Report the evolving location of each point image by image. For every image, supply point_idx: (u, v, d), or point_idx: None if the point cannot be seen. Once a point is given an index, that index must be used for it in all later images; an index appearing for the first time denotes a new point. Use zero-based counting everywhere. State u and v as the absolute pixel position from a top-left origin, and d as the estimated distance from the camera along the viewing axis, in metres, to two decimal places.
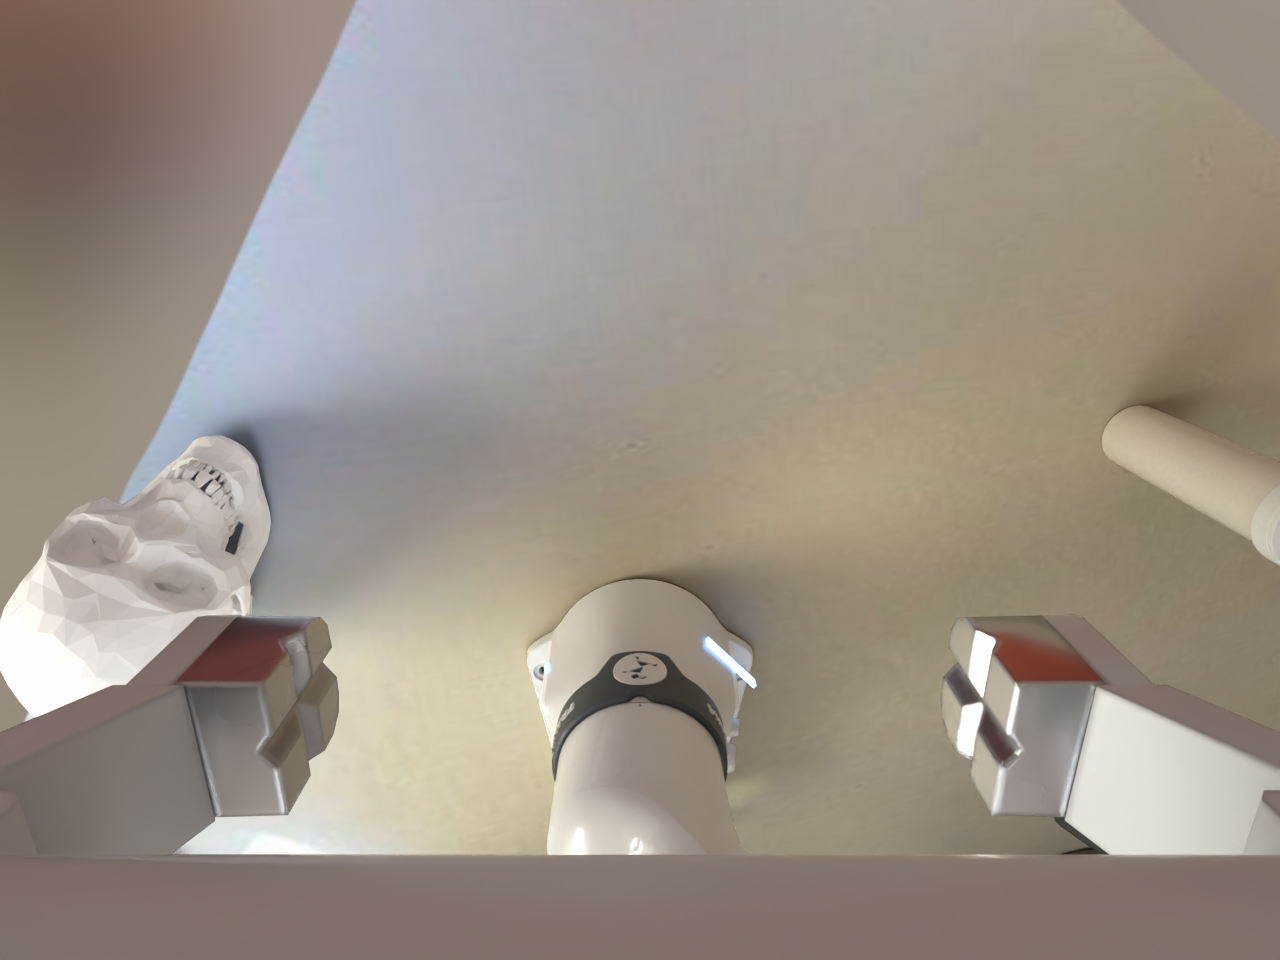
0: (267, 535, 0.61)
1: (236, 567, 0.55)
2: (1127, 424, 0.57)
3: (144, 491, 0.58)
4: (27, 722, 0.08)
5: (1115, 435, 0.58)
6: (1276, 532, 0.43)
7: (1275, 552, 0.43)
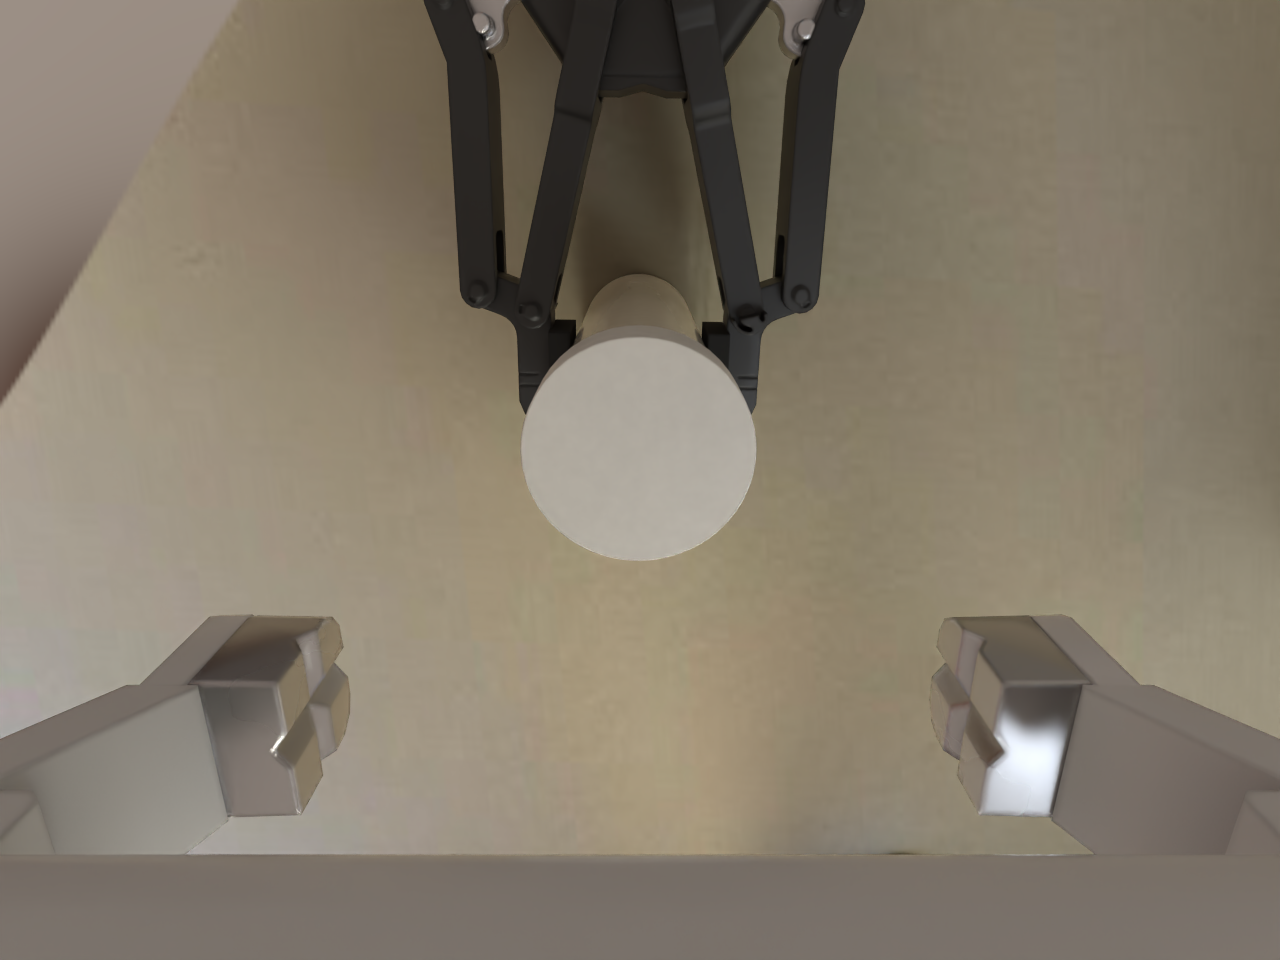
0: None
1: None
2: None
3: None
4: (42, 722, 0.08)
5: None
6: (630, 553, 0.19)
7: (681, 548, 0.19)
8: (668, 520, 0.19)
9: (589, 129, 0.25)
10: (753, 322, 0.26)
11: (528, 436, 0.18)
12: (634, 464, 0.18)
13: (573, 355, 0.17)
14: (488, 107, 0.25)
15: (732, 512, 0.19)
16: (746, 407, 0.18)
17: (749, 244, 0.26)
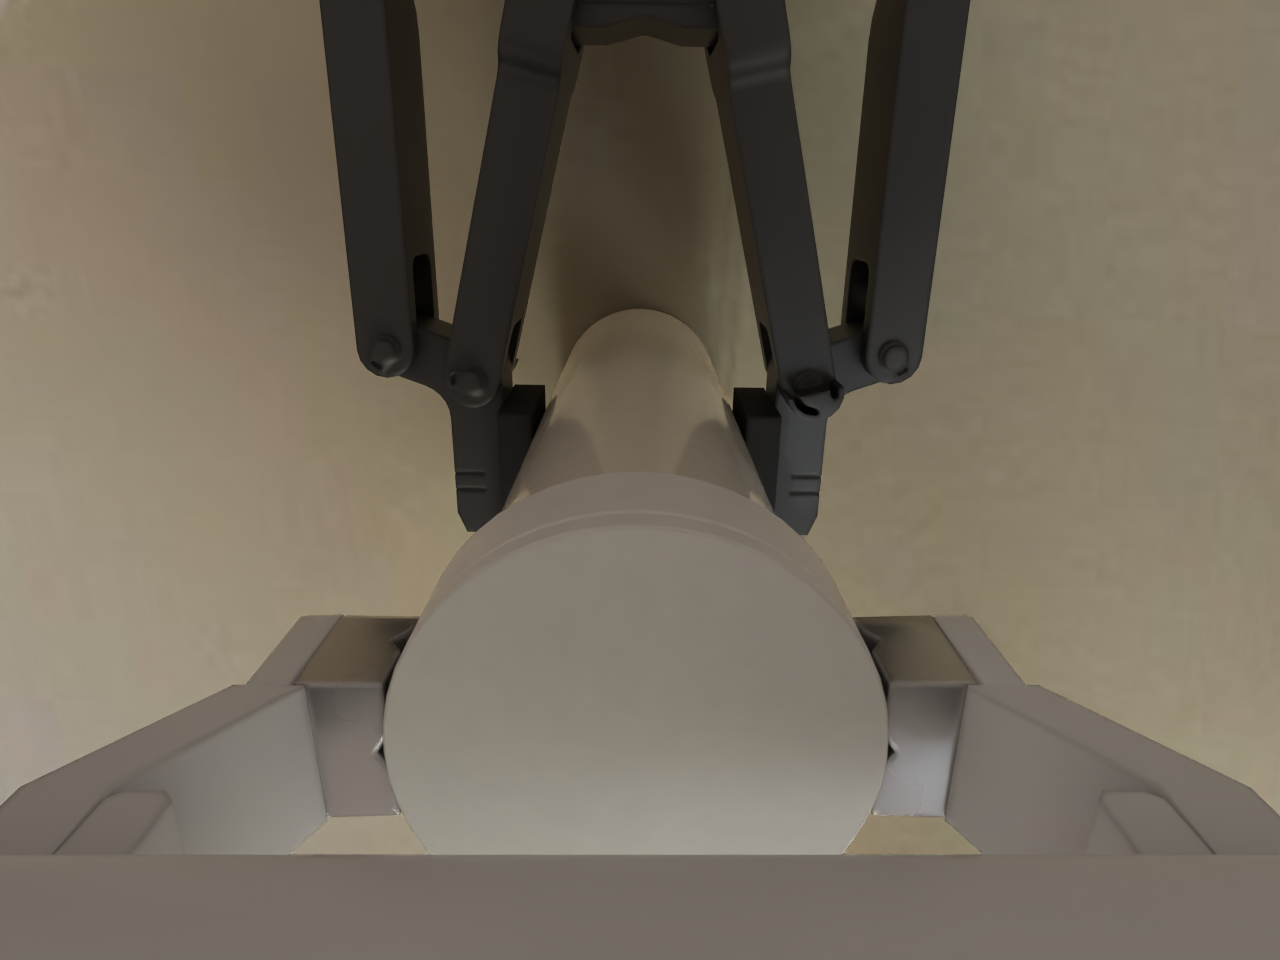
0: None
1: None
2: None
3: None
4: (158, 722, 0.08)
5: None
6: None
7: None
8: None
9: (556, 91, 0.15)
10: (820, 401, 0.17)
11: (398, 723, 0.08)
12: (627, 775, 0.09)
13: (488, 563, 0.08)
14: (392, 57, 0.15)
15: None
16: (872, 668, 0.08)
17: (815, 277, 0.16)
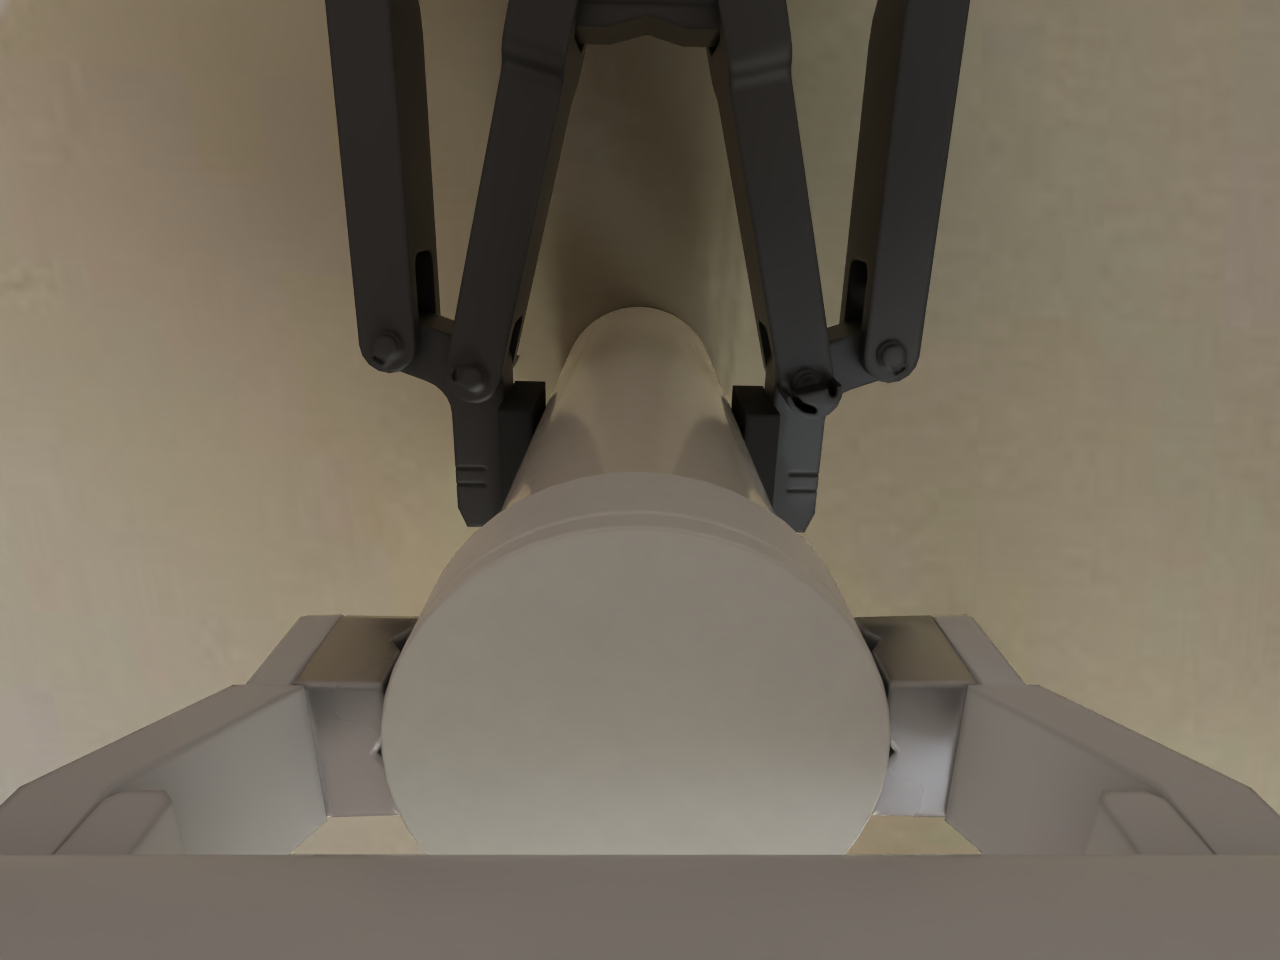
0: None
1: None
2: None
3: None
4: (158, 722, 0.08)
5: None
6: (850, 820, 0.09)
7: (879, 728, 0.08)
8: (805, 740, 0.08)
9: (559, 90, 0.15)
10: (819, 399, 0.17)
11: None
12: (654, 771, 0.09)
13: (401, 815, 0.09)
14: (396, 54, 0.15)
15: (833, 614, 0.08)
16: (587, 534, 0.08)
17: (814, 276, 0.16)
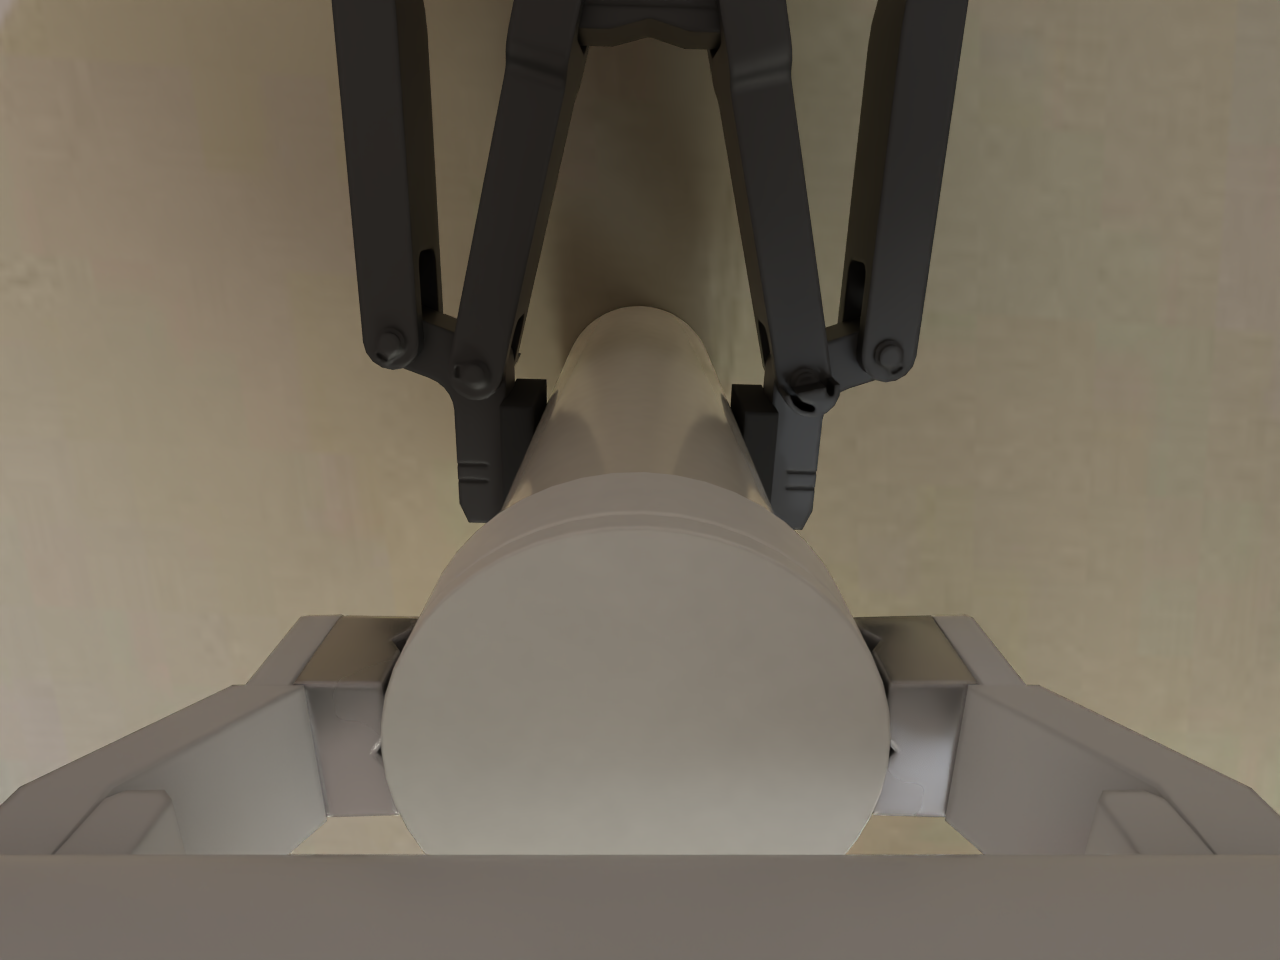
0: None
1: None
2: None
3: None
4: (158, 722, 0.08)
5: None
6: (782, 586, 0.08)
7: (667, 538, 0.08)
8: (659, 613, 0.08)
9: (562, 91, 0.15)
10: (817, 397, 0.17)
11: None
12: (654, 747, 0.08)
13: None
14: (402, 55, 0.15)
15: (511, 561, 0.08)
16: (382, 741, 0.08)
17: (813, 276, 0.17)
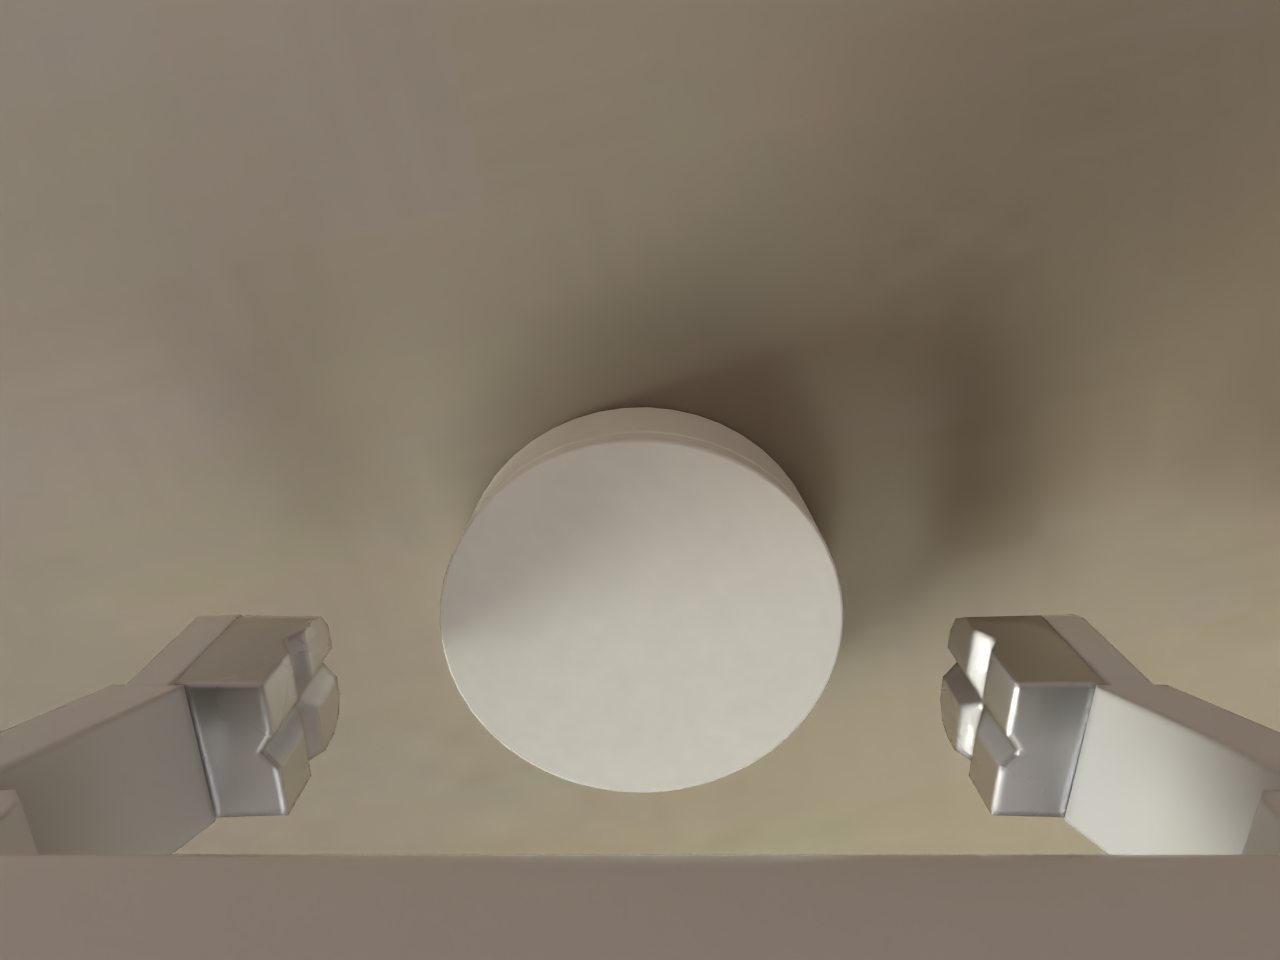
0: None
1: None
2: None
3: None
4: (27, 722, 0.08)
5: None
6: (755, 488, 0.10)
7: (666, 449, 0.10)
8: (660, 509, 0.10)
9: None
10: None
11: (778, 733, 0.11)
12: (656, 622, 0.11)
13: (646, 791, 0.12)
14: None
15: (545, 468, 0.10)
16: (441, 616, 0.11)
17: None
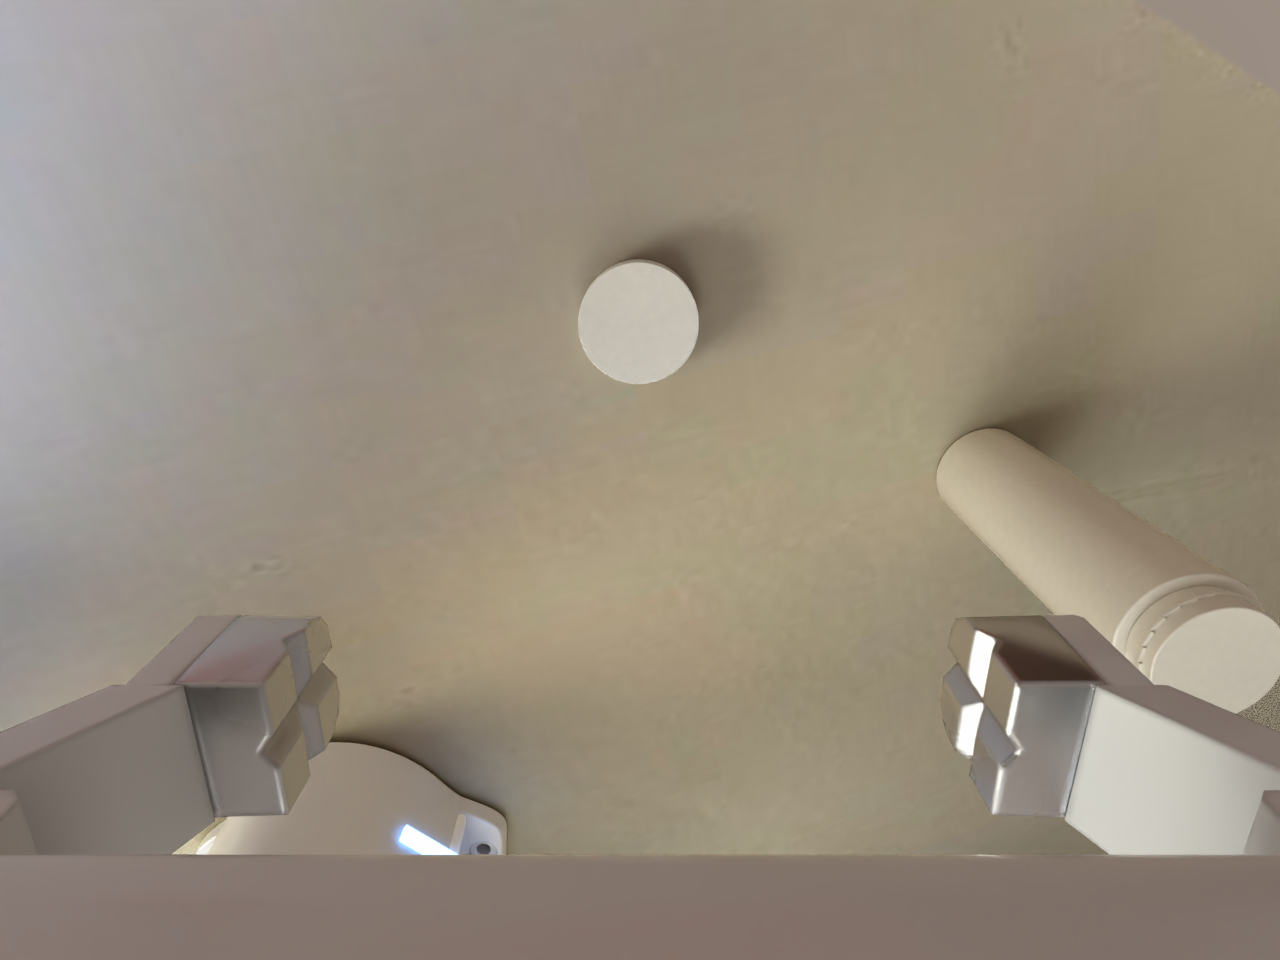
0: None
1: None
2: (961, 463, 0.37)
3: None
4: (27, 722, 0.08)
5: (948, 480, 0.38)
6: (671, 277, 0.35)
7: (645, 265, 0.35)
8: (644, 283, 0.35)
9: None
10: None
11: (681, 361, 0.36)
12: (643, 321, 0.35)
13: (640, 383, 0.36)
14: None
15: (611, 270, 0.35)
16: (578, 318, 0.35)
17: None
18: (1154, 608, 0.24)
